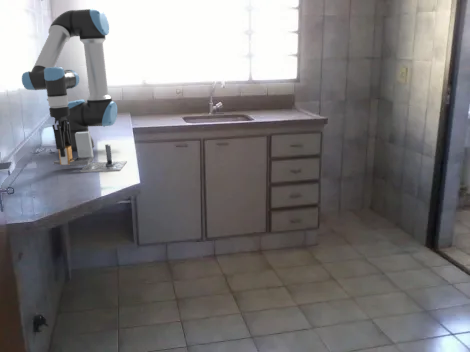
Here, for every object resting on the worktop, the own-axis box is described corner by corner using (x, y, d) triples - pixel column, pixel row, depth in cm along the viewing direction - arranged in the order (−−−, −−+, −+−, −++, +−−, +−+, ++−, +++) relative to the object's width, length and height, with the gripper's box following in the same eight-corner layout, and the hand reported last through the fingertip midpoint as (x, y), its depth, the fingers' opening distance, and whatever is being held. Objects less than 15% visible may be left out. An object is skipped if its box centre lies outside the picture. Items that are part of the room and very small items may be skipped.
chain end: (51, 166, 200) (48, 149, 198) (57, 161, 207) (55, 145, 206) (88, 164, 200) (85, 148, 198) (93, 160, 207) (91, 144, 205)
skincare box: (94, 157, 223) (90, 130, 220) (92, 159, 219) (88, 132, 216) (80, 158, 223) (76, 131, 219) (78, 160, 218) (74, 133, 215)
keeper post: (89, 164, 211) (86, 142, 208) (126, 162, 211) (124, 141, 208) (80, 172, 198) (77, 149, 196) (120, 170, 198) (117, 147, 195)
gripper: (57, 103, 206) (64, 158, 212) (41, 109, 189) (50, 168, 196) (75, 103, 205) (82, 157, 212) (60, 109, 189) (69, 167, 195)
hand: (66, 162), depth 204 cm, fingers closed on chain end, 4 cm apart
